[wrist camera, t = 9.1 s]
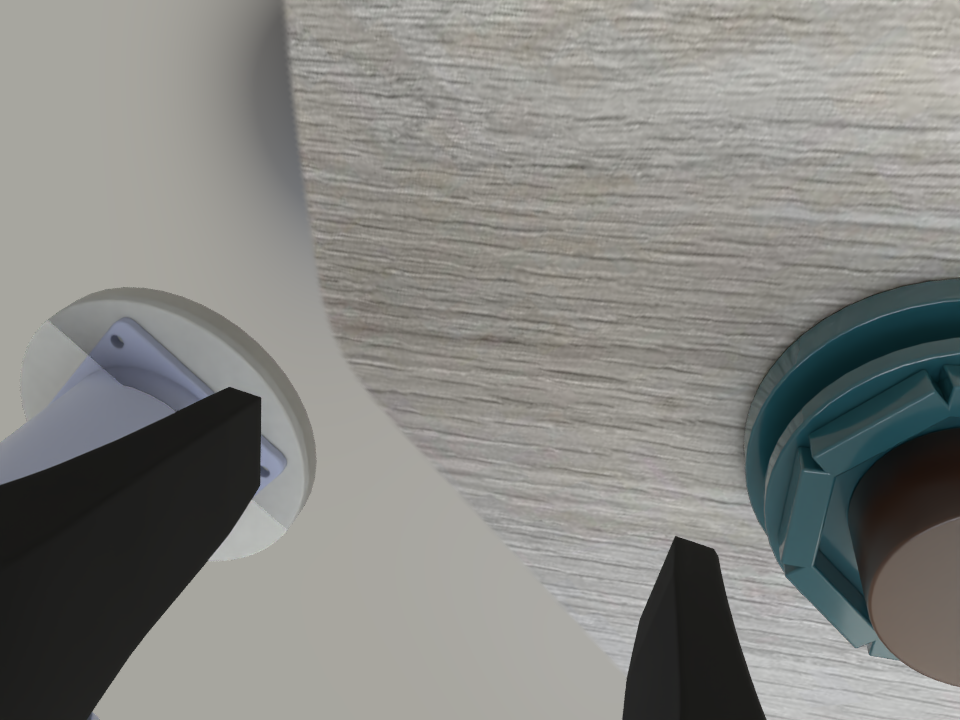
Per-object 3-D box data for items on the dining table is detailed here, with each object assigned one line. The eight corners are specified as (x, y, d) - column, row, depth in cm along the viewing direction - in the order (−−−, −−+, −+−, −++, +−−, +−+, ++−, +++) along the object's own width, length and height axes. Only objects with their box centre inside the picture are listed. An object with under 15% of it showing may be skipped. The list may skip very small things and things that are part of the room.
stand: (877, 630, 26) (903, 741, 22) (671, 415, 24) (665, 501, 20) (1238, 482, 21) (1344, 595, 17) (1015, 195, 19) (1084, 259, 15)
